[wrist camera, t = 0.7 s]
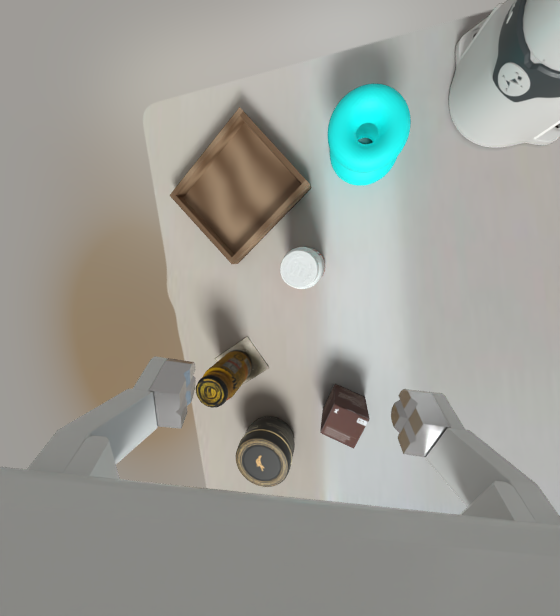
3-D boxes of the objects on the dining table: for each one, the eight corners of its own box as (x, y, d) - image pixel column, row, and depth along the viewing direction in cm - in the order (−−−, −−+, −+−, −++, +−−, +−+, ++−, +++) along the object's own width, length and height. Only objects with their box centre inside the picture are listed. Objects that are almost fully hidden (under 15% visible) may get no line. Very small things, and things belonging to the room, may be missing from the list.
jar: (266, 465, 58) (255, 496, 51) (238, 426, 58) (223, 451, 50) (306, 446, 55) (301, 475, 48) (277, 404, 55) (267, 428, 48)
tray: (246, 116, 46) (239, 107, 44) (311, 187, 46) (309, 183, 43) (179, 198, 51) (169, 195, 49) (238, 263, 51) (231, 264, 48)
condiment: (215, 358, 56) (182, 385, 45) (247, 336, 54) (221, 358, 42) (236, 388, 56) (209, 422, 45) (269, 367, 54) (249, 398, 42)
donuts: (372, 58, 33) (432, 119, 33) (365, 102, 43) (411, 149, 42) (310, 130, 36) (365, 186, 36) (317, 156, 45) (360, 201, 45)
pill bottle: (283, 265, 50) (266, 268, 39) (308, 240, 48) (298, 236, 37) (307, 291, 50) (297, 301, 39) (333, 266, 48) (330, 269, 37)
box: (321, 409, 53) (318, 432, 46) (334, 382, 52) (333, 402, 45) (352, 423, 52) (354, 449, 45) (366, 396, 51) (370, 419, 44)
